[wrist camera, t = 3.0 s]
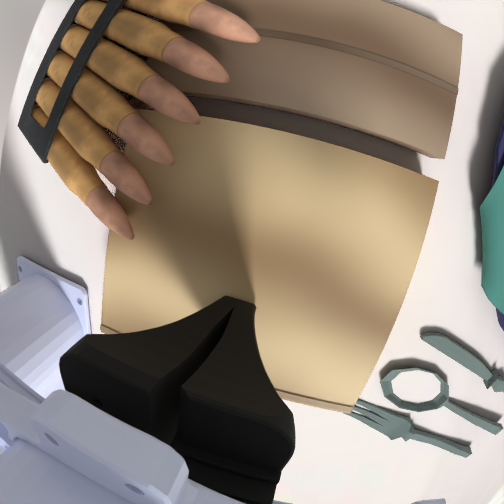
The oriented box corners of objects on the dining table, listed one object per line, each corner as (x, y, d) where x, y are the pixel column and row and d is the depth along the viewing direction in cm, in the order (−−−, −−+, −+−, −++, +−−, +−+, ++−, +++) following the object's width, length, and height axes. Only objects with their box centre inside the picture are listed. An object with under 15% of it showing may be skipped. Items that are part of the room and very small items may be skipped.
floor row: (430, 157, 11) (445, 158, 9) (157, 93, 13) (138, 88, 11) (449, 44, 9) (462, 34, 7) (186, -9, 10) (172, -22, 9)
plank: (346, 395, 14) (349, 414, 12) (116, 321, 15) (100, 332, 14) (425, 182, 11) (439, 181, 10) (151, 115, 13) (134, 108, 11)
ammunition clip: (97, -32, 8) (266, 7, 7) (119, -22, 10) (284, 31, 8) (17, 126, 13) (109, 260, 11) (40, 127, 14) (139, 250, 13)
